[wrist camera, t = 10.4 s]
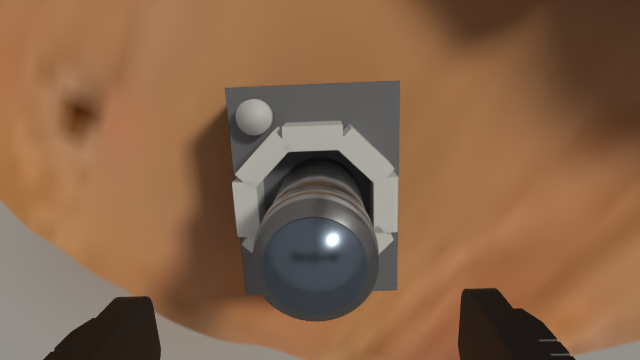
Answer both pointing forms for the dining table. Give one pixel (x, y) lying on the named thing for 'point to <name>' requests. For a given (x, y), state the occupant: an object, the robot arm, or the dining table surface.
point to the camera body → (316, 153)
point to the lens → (316, 244)
